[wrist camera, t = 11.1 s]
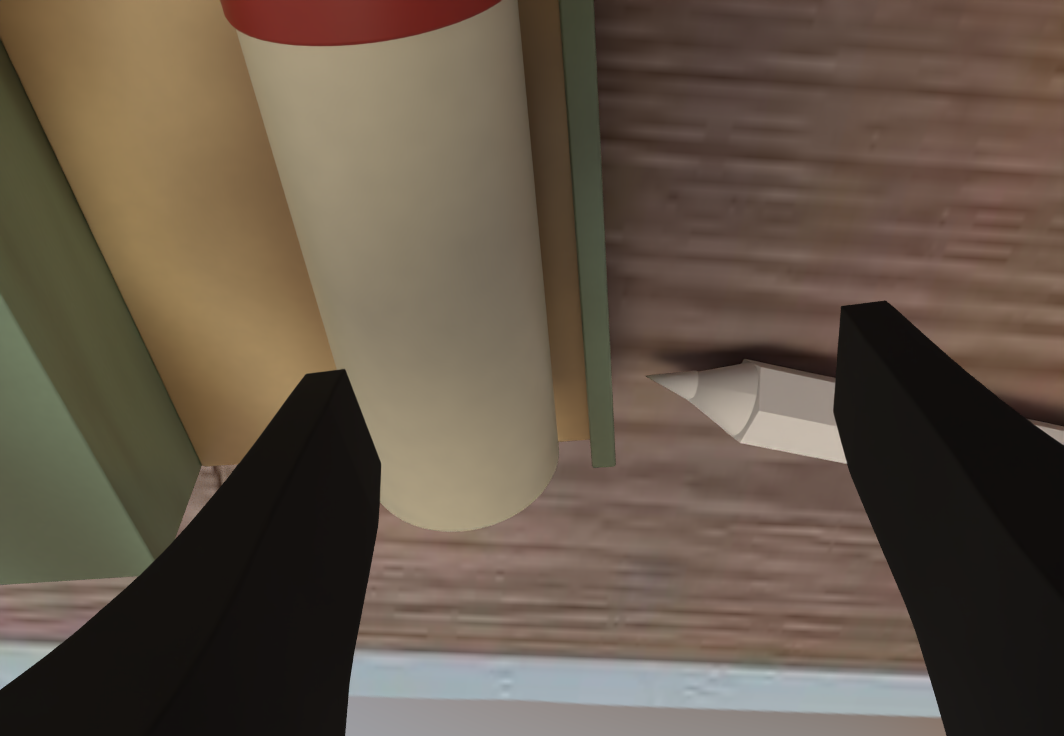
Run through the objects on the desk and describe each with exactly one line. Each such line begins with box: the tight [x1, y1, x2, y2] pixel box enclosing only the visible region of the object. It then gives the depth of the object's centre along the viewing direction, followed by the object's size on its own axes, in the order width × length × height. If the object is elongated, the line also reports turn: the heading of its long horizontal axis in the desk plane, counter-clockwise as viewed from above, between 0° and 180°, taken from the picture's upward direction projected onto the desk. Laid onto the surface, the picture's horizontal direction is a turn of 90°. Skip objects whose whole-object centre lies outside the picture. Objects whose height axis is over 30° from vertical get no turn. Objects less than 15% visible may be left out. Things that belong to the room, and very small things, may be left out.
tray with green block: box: [0, 0, 616, 585], centre depth 18 cm, size 16×19×6 cm
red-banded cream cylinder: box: [220, 0, 559, 532], centre depth 16 cm, size 15×5×5 cm
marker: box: [646, 359, 1064, 464], centre depth 26 cm, size 3×2×16 cm
